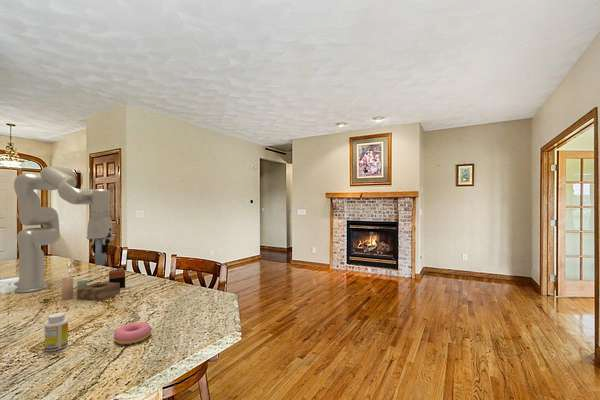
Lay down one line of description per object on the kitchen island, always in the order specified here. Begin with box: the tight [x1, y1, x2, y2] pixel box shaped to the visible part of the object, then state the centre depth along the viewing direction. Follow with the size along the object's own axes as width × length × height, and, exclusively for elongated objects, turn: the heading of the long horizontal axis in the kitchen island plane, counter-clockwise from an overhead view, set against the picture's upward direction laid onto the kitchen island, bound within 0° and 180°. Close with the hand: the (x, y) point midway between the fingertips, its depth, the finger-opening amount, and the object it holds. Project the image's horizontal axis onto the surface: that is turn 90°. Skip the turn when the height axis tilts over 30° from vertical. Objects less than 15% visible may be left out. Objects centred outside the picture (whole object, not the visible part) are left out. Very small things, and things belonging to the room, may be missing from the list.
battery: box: [108, 267, 126, 289], centre depth 155 cm, size 4×7×10 cm, turn 133°
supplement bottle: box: [44, 312, 69, 352], centre depth 91 cm, size 6×6×10 cm
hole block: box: [76, 281, 121, 302], centre depth 141 cm, size 12×12×5 cm
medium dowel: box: [61, 277, 74, 301], centre depth 137 cm, size 4×4×9 cm
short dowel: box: [76, 279, 88, 290], centre depth 145 cm, size 4×4×6 cm
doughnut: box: [113, 321, 152, 345], centre depth 97 cm, size 11×11×4 cm
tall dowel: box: [94, 239, 106, 266], centre depth 141 cm, size 4×4×14 cm
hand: (100, 252), depth 141 cm, fingers closed on tall dowel, 4 cm apart
